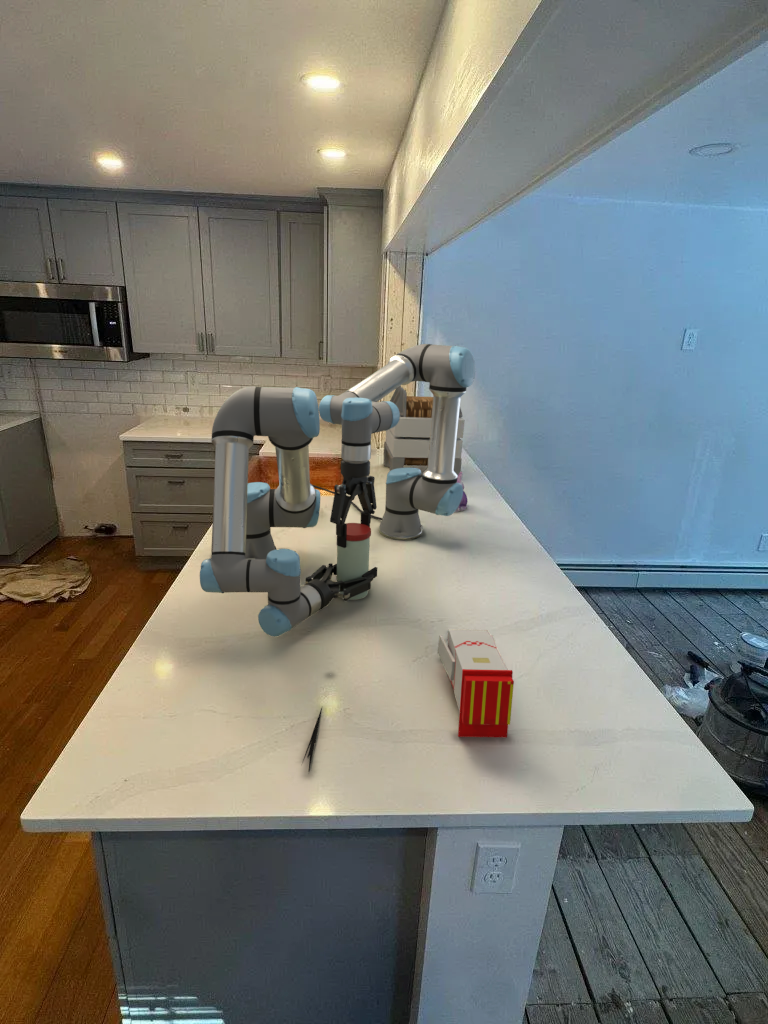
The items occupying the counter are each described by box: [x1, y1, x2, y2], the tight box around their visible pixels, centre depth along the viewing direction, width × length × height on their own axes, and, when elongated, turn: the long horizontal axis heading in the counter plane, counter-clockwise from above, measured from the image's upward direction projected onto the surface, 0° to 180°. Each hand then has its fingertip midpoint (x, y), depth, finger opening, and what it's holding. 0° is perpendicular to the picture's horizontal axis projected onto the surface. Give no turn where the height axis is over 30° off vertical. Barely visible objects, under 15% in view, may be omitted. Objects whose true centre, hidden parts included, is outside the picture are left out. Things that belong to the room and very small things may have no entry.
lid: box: [345, 522, 372, 541], centre depth 151 cm, size 9×9×2 cm
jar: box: [336, 536, 371, 601], centre depth 155 cm, size 9×9×18 cm
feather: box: [301, 673, 332, 771], centre depth 108 cm, size 2×28×2 cm
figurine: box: [454, 471, 468, 513], centre depth 225 cm, size 9×10×15 cm
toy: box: [437, 628, 515, 738], centre depth 117 cm, size 12×13×30 cm
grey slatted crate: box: [383, 385, 465, 475], centre depth 268 cm, size 34×33×41 cm
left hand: (362, 567), depth 159 cm, fingers closed on jar, 9 cm apart
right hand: (353, 540), depth 152 cm, fingers closed on lid, 9 cm apart
